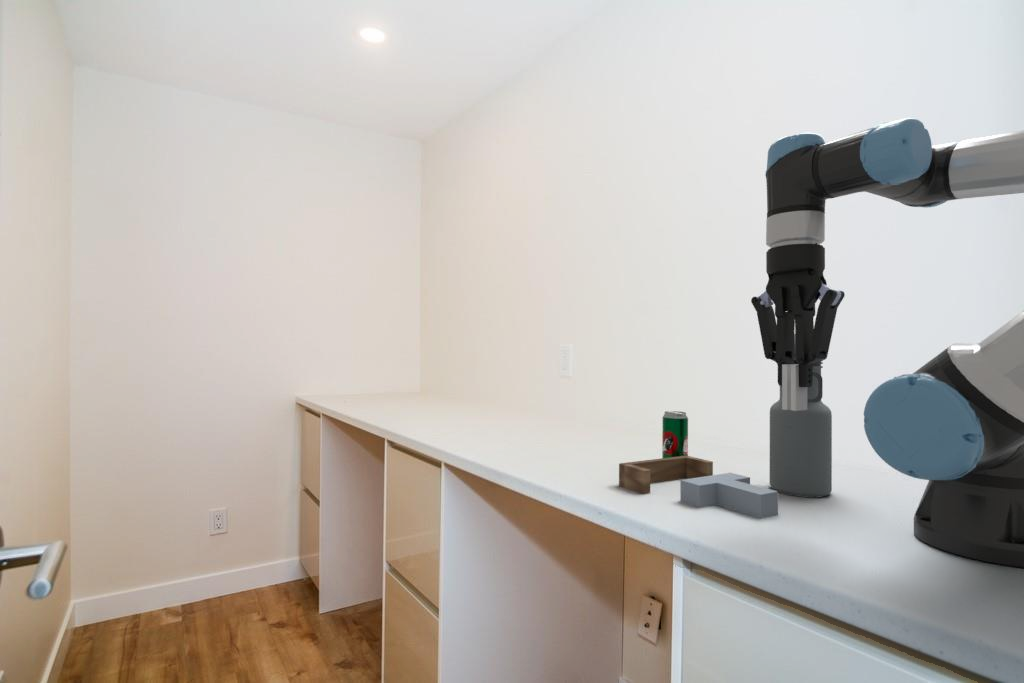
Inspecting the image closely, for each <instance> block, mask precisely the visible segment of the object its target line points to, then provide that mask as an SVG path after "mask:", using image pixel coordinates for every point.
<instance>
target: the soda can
mask: <svg viewBox="0 0 1024 683" xmlns="http://www.w3.org/2000/svg"><path fill="white" fill-rule="evenodd" d="M661 437H662V440H661V441H662V444H661V446H662V450H661V451H662V455H661V456H662V457H661V458H670V457H678V456H689V418H688V416H687V412H684V411H679V410H678V411H677V410H675V411H674V410H669V411H666V410H665V411H664V414H663V416H662V436H661Z"/></svg>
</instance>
